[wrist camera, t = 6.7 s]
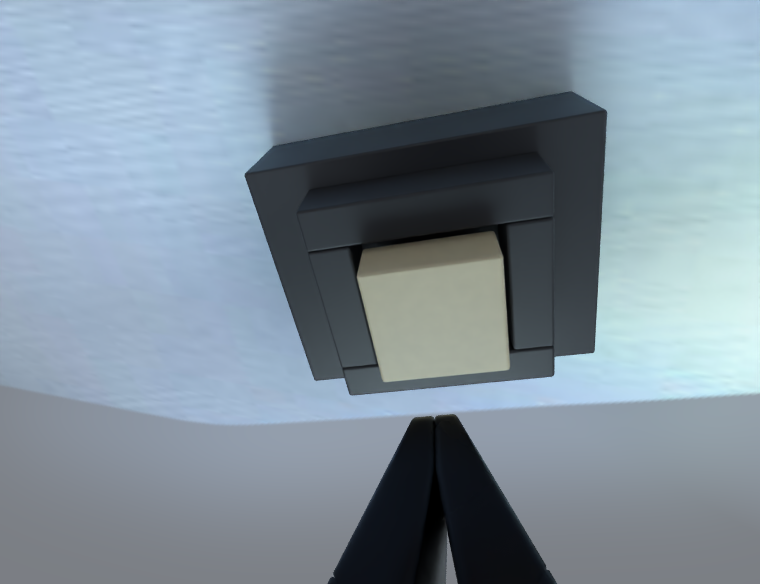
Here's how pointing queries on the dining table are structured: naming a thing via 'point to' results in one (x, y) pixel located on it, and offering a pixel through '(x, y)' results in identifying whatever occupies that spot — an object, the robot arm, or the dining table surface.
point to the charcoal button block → (442, 225)
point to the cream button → (436, 306)
